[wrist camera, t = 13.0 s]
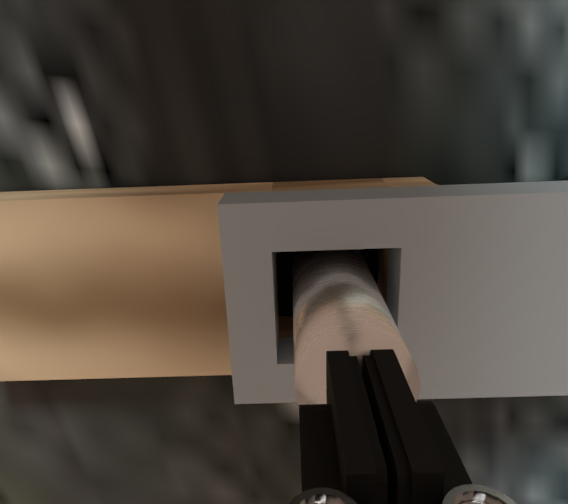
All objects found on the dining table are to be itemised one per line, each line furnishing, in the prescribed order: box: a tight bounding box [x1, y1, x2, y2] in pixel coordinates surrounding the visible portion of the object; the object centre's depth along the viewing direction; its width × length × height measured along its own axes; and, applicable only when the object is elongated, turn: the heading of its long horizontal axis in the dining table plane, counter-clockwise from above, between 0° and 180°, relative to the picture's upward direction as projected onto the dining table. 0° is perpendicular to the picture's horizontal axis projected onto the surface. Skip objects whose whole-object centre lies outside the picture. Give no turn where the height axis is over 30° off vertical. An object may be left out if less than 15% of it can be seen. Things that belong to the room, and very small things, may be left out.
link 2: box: [217, 178, 568, 404], centre depth 18 cm, size 8×20×4 cm, turn 92°
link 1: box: [0, 177, 437, 381], centre depth 19 cm, size 8×20×2 cm, turn 92°
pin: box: [292, 249, 420, 407], centre depth 16 cm, size 3×3×9 cm
